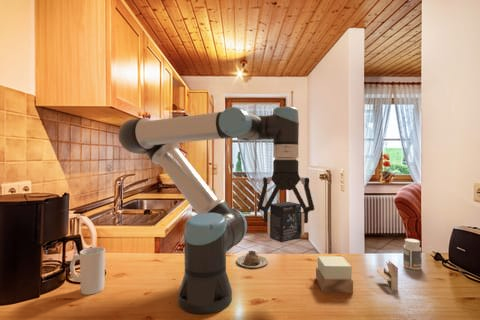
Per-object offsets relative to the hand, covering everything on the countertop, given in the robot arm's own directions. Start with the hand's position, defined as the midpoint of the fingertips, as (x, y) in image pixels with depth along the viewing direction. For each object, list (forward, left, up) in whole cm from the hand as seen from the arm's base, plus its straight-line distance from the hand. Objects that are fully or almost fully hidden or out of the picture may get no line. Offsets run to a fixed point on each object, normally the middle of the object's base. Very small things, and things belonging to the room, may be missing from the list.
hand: (285, 233), depth 81 cm
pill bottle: (+48, +22, -18) cm, 56 cm away
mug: (-60, -5, -18) cm, 63 cm away
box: (0, 0, -2) cm, 2 cm away
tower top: (+16, +5, -14) cm, 21 cm away
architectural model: (+33, +6, -18) cm, 38 cm away
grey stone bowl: (-11, +21, -18) cm, 30 cm away
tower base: (+16, +5, -18) cm, 24 cm away
